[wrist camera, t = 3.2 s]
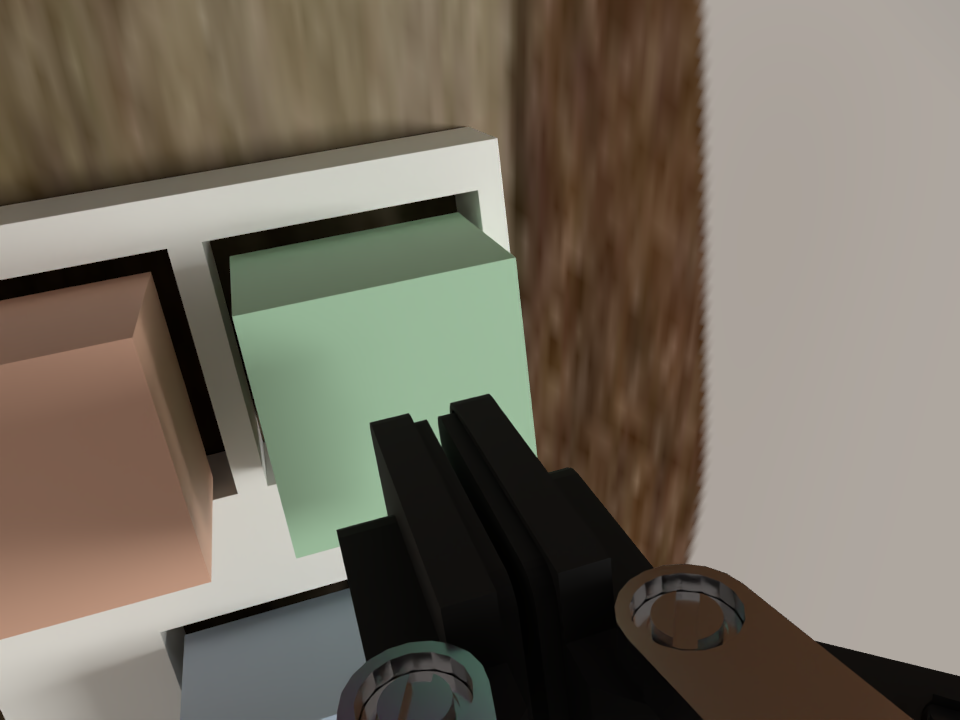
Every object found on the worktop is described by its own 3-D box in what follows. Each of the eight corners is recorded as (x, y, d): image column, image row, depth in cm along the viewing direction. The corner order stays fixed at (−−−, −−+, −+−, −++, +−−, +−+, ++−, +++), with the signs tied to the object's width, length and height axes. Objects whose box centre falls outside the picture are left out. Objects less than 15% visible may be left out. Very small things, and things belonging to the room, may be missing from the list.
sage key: (229, 256, 15) (232, 316, 12) (458, 211, 16) (515, 257, 13) (282, 460, 17) (296, 558, 14) (485, 409, 18) (540, 491, 15)
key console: (-168, 235, 15) (-221, 264, 13) (468, 126, 17) (497, 138, 15) (94, 802, 21) (83, 875, 19) (535, 661, 23) (560, 713, 22)
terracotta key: (-119, 323, 14) (-216, 410, 11) (150, 271, 15) (132, 337, 12) (-22, 536, 16) (-82, 662, 13) (212, 477, 17) (211, 582, 13)
